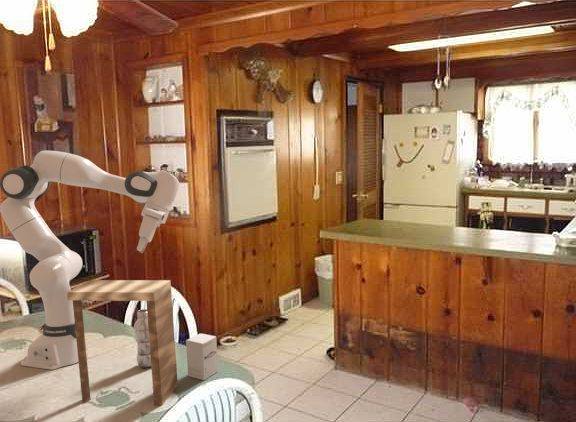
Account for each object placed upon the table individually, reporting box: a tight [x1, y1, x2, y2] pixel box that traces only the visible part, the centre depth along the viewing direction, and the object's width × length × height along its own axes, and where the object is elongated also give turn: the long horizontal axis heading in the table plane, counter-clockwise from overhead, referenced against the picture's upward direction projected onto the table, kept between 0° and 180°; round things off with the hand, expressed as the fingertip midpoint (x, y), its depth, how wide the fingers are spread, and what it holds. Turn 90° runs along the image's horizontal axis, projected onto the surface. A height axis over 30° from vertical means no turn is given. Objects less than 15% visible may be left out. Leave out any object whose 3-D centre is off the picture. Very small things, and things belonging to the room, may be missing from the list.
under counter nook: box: [67, 279, 179, 406], centre depth 157 cm, size 27×13×34 cm, turn 82°
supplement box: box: [185, 333, 219, 381], centre depth 170 cm, size 7×7×13 cm
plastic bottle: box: [133, 308, 151, 369], centre depth 178 cm, size 6×7×20 cm
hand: (139, 251), depth 179 cm, fingers open, 8 cm apart
